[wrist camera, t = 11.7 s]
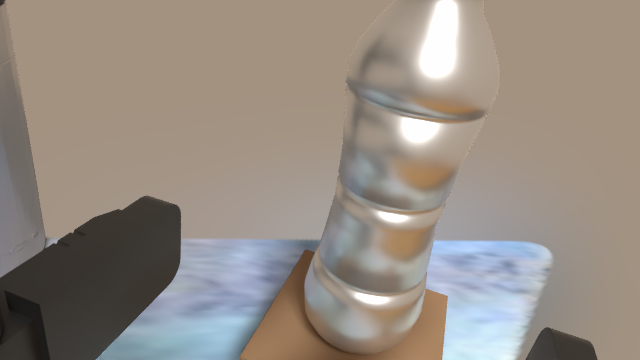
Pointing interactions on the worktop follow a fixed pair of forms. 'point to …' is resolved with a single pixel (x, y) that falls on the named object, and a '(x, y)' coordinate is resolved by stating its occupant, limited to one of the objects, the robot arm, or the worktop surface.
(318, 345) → the pegged shelf
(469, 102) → the plastic bottle
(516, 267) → the worktop surface
